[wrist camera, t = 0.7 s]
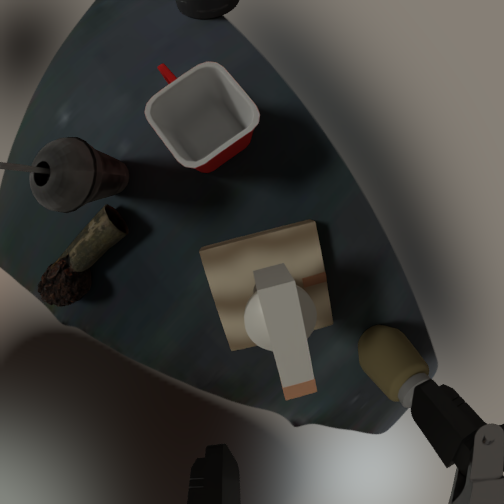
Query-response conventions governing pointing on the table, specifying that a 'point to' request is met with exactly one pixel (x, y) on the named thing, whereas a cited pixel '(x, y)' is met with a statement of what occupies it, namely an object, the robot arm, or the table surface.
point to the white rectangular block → (283, 327)
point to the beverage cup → (72, 174)
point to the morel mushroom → (81, 258)
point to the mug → (202, 116)
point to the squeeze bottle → (392, 362)
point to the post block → (257, 257)
